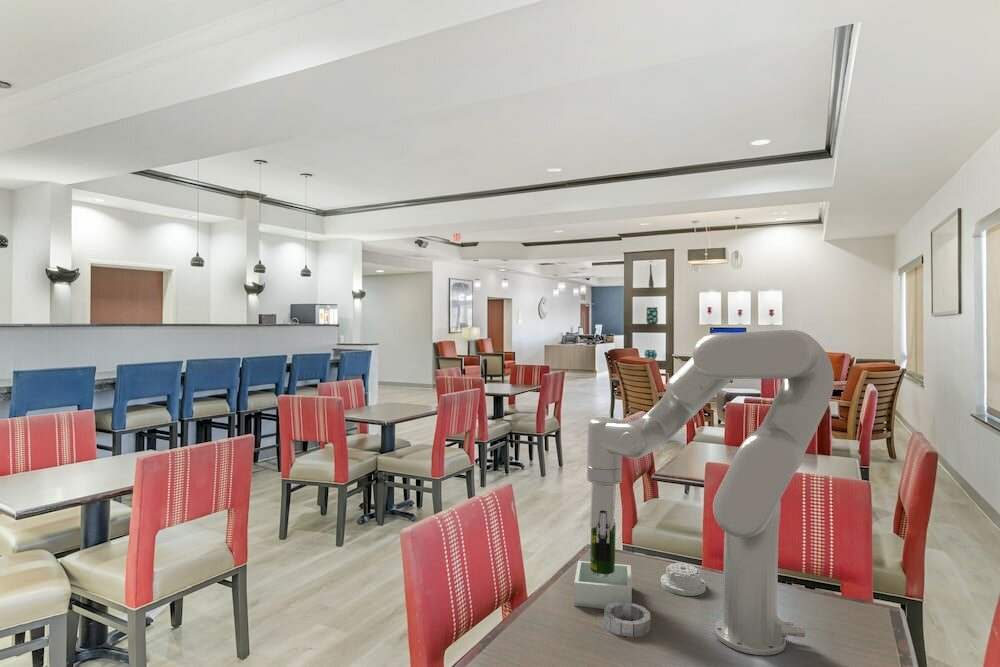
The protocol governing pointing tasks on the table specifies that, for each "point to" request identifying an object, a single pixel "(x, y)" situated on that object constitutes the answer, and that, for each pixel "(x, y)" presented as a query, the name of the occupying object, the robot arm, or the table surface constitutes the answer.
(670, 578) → the mechanical component
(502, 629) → the table surface
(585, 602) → the bin
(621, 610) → the collar
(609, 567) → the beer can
